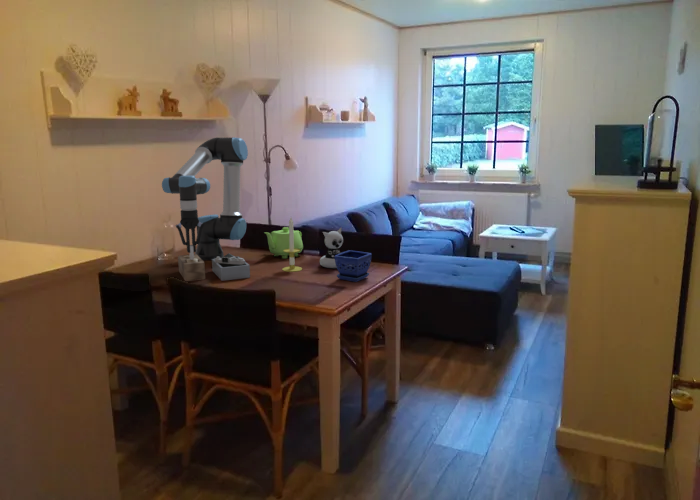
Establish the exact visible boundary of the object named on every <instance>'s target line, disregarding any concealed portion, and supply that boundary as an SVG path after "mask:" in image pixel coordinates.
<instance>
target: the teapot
mask: <svg viewBox="0 0 700 500" xmlns="http://www.w3.org/2000/svg"><path fill="white" fill-rule="evenodd" d="M293 231H294V248H295V249H300V252H296V253H294V257H299V256H300V255H299V254H301V253H302V251H303V249H304V244H303V240H302V236H303V234H302V232H301V230H300V231H299V230H298V229H297V230H294V229H293ZM263 233H264V234H265V235H266V237H267V243H268V250H269V251H270V253H271V254H273V257H280V256H281V259H285V260H286V259H288V258H289V257H288V256H289V253H286V252H284V251H283V250H284V249H290V243H289V226H287V227H285V226H284V227H282V229H281V230H273V231H271V232H267V231H266V232H263Z"/></svg>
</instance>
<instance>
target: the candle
mask: <svg viewBox="0 0 700 500" xmlns="http://www.w3.org/2000/svg"><path fill="white" fill-rule="evenodd" d="M288 228H289V243H290V249H284V250H283V251H284V252H286V253H289V255H288V256H289V257H288V258H289V266H285V267H283V268H282V269H281V270H282V271H283V272H289V273H295V272H300V271H302V270H303V268H302V266H301V267H300V266H296V265H295V263H296V262H295V259H296V258H295V256H294V253H296V252H300V249H295V248H294V231H293V230H294V220H293V218H292V217H290V220H289V221H288ZM300 253H301V252H300Z"/></svg>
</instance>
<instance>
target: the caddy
mask: <svg viewBox="0 0 700 500" xmlns="http://www.w3.org/2000/svg"><path fill="white" fill-rule="evenodd" d="M235 257H236V258H238V259H239V258H241V257H240V256H235ZM211 268H212V270H211V271H212V272H213V273H214V274H215V275H216V276H217V277H218V279H220V281H230V280H241V279H250V278H251V266H250V264H249V263H248V262H246V261H245V265H242V266H232V267H222V266H221V265H220V264H219V263H216V262H215V259H212V260H211Z"/></svg>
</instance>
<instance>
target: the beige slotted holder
mask: <svg viewBox="0 0 700 500" xmlns="http://www.w3.org/2000/svg"><path fill="white" fill-rule="evenodd" d="M194 258H196V259H198V262H189V263H187V259H190V254H183V255H177V261H178V262H177V264H178V272H179V274H180V275H181V277H182V278H183V281H185V282H191V281H199V280H206V269H205V266H206V265H205V261H204V260H202V259H201V258H200V257H199V256H198V255H197V254H195V253H194Z"/></svg>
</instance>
